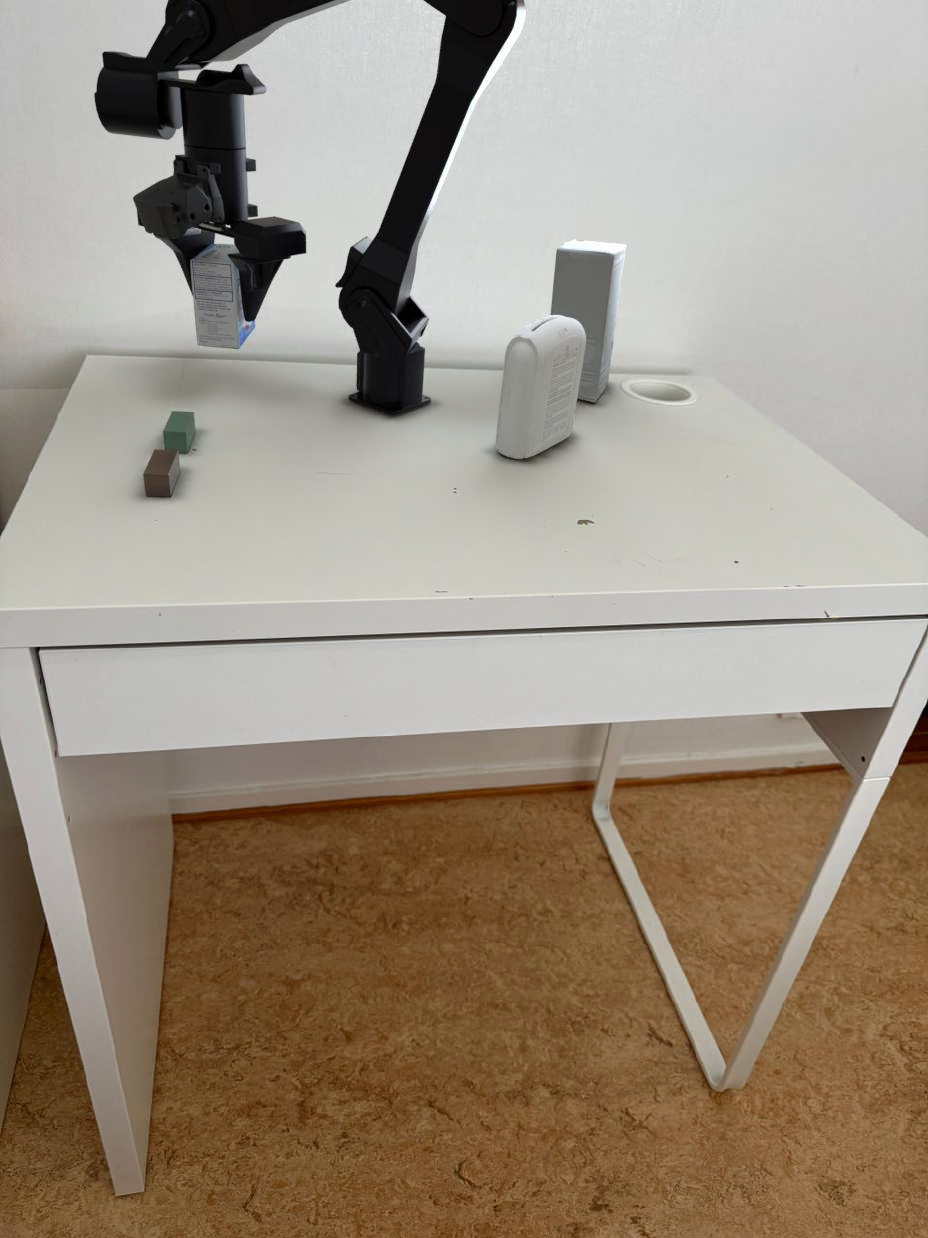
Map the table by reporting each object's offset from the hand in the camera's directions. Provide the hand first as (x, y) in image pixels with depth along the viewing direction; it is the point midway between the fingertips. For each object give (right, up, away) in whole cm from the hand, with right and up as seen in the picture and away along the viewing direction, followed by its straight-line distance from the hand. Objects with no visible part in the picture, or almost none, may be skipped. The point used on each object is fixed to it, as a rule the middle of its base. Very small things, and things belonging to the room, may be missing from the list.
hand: (224, 312), depth 95 cm
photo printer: (+32, -15, -4) cm, 35 cm away
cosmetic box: (+38, -5, +11) cm, 40 cm away
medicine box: (0, -2, +2) cm, 3 cm away
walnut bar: (0, -21, -19) cm, 28 cm away
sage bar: (-1, -16, -11) cm, 19 cm away
